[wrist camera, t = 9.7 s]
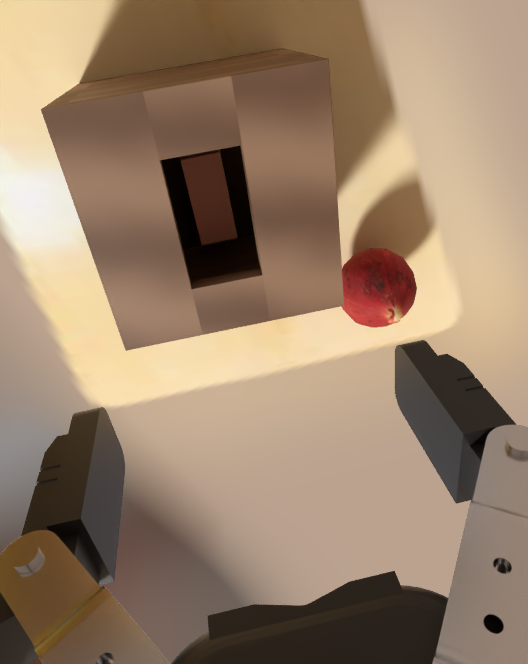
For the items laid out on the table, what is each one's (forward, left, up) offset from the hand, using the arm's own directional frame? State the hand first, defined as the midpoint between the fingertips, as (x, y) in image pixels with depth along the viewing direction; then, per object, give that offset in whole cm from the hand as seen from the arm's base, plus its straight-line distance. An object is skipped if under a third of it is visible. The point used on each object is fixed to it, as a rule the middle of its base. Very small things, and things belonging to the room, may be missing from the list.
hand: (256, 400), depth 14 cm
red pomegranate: (+10, +11, -26) cm, 30 cm away
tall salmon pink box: (+3, 0, -23) cm, 23 cm away
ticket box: (0, 0, -26) cm, 26 cm away
